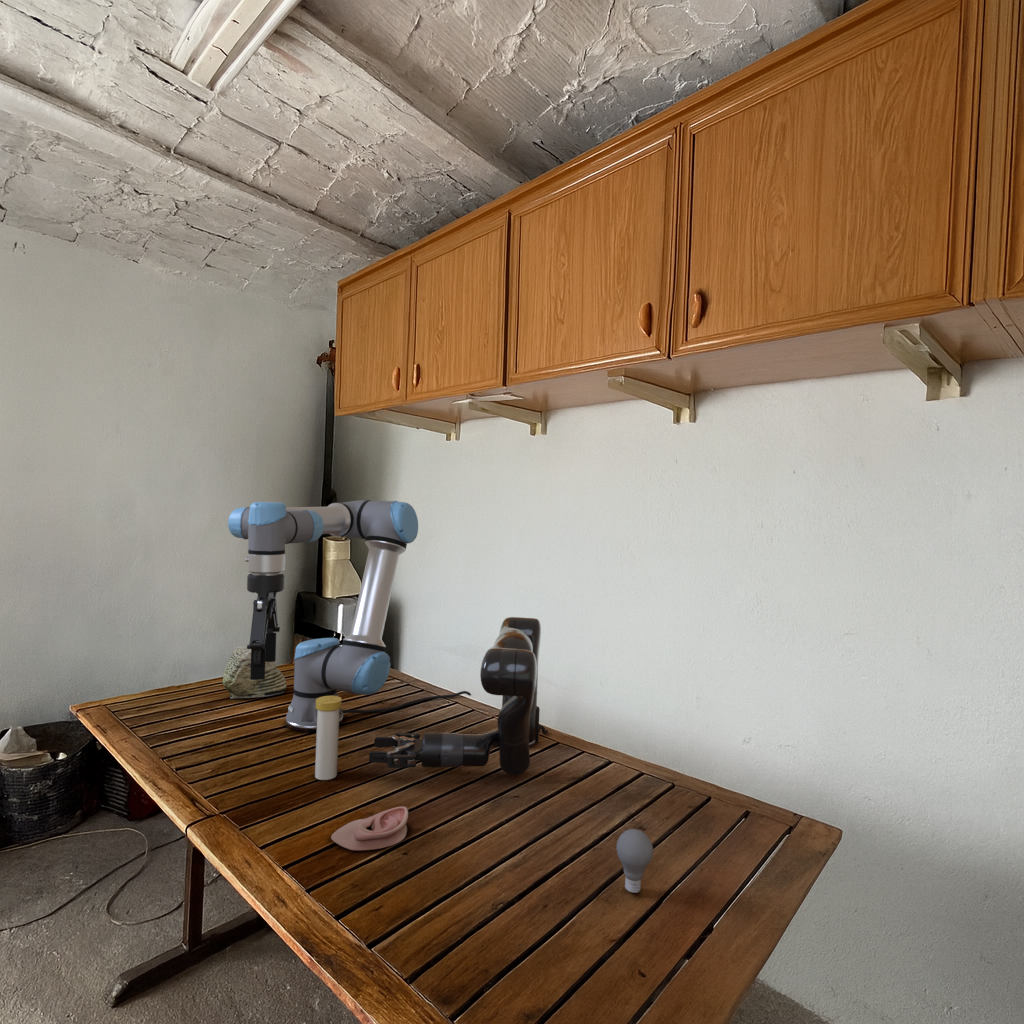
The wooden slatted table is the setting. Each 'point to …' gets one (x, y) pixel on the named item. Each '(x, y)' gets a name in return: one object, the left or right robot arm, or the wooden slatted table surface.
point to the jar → (327, 744)
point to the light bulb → (634, 857)
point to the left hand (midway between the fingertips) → (263, 670)
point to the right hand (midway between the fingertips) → (372, 749)
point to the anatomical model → (374, 830)
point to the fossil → (240, 676)
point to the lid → (328, 703)
